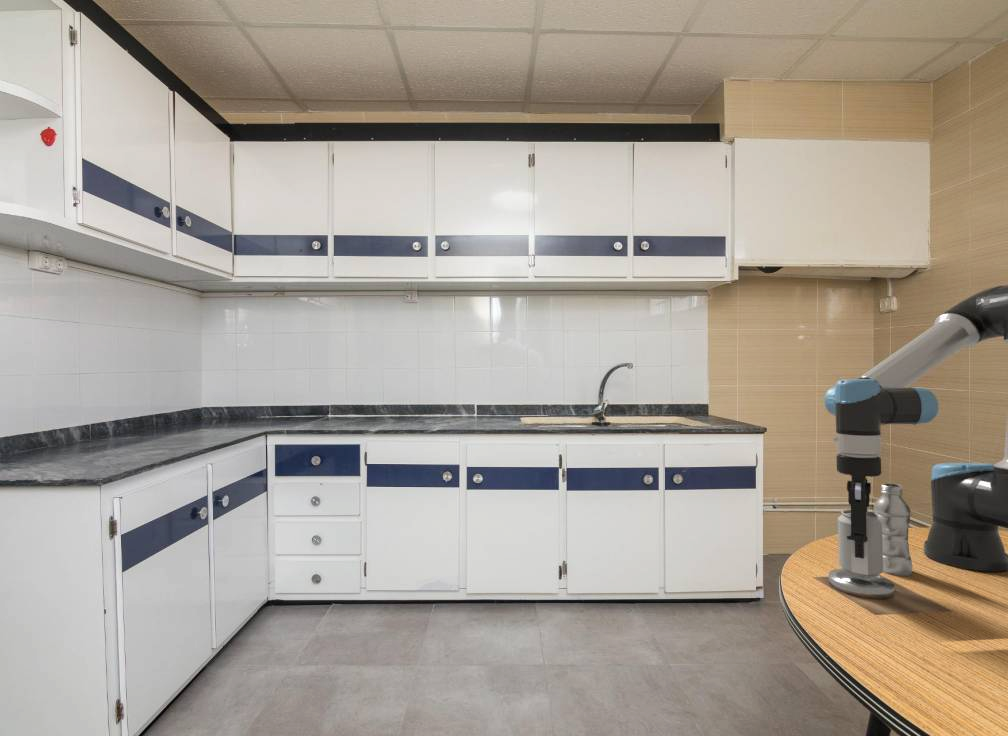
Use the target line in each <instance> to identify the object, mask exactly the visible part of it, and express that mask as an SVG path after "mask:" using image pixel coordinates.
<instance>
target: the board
mask: <svg viewBox="0 0 1008 736" xmlns="http://www.w3.org/2000/svg"><path fill="white" fill-rule="evenodd" d="M879 575H880V576H882V575H881V574H879ZM812 578H813V579H815V580H816V581H818V582H820V584H821V583H822V584H823V585H824V586H826V587H828V588H829V589H831V590H833V591H834V592H836V593H838V594H840V595H841V596H842V597H845V598H846V599H848V600H850V601H852V602H853V603H855V604H856V605H858V606H860V607H861V608H864V609H865V610H866V611H868V612H870V613H872V614H873V615H875V616H876V615H877V616H880V615H881V616H882V615H898V614H899V615H901V614H920V613H921V614H922V613H923V614H924V613H942V612H944V613H945V612H953V610H951V609H950V608H947V607H946V606H943V605H941V604H939V603H937V602H935V601H933V600H931V599H930V598H927V597H925V596H923V595H921V594H919V593H917V592H915V591H913V590H911V589H909V588H907V587H905V586H903V585H902V584H899V583H897V582H895V581H893V580H891V579H889V580H890V581H892V582H893V583H894V597H893V598H890V599H886V600H873V599H865V598H859V597H855V596H851V595H848V594H845V593H842V592H840V591H838V590H836V589H834V588H833V587H832V586H830V584H829V576H813V577H812Z"/></svg>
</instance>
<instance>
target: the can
mask: <svg viewBox="0 0 1008 736" xmlns="http://www.w3.org/2000/svg"><path fill="white" fill-rule="evenodd" d="M840 512H841V515H839V517H837V541H838V542H837V543H838V565H839V566H840V567H841V569H844V570H845V571H846V572H848V573H850V574H853V575H857V576H862V577H876V576H878V575H881V574H882V573H884V572H883V541H882V523H881V522H880V521H879V520H878V519H877V518H878V515H876V514H875V513H874V512H871V511H868V510H867V511H866V528H867V539H868V540H867V541H868V575H865V574H859V573H854V572H852V566H851V540H849V539H847V536H850V535H851V509H843V510H842V511H840ZM856 534H859V533H856Z"/></svg>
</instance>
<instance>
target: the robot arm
mask: <svg viewBox="0 0 1008 736" xmlns="http://www.w3.org/2000/svg"><path fill="white" fill-rule="evenodd" d="M999 337H1003V343H1004V344H1005V345H1007V346H1008V284H1007V285H999V286H994V287H990V288H986V289H984V290H981V291H979V292H977V293H975V294H973V295H970V296H969V297H967V298H965V299H964V300H962V301H959V303H957V304H956V305H953V306H951V307H950V308H949V309H947V310H946V311H945V312H943V313H942V314H940V315H939V316H937V318H935V320H934V323H933V325H932V326H931V327H930V328H927V330H925V331H924V332H922V333H921V334H919V335H918V336H917V337H915V338H914V339H912V340H911V341H910V342H908V343H906V344H905V345H903V346H902V347H901V348H900V349H898V350H896V351H895V352H894V353H892V354H891V355H889V356H887V358H885V359H884V360H882V361H881V362H879V363H878V364H877V365H875V366H873V367H872V368H871V369H869V370H868V371H866V372H865V373H864V374H862V375H861V376H860V377H858V378H856V379H854V378H853V379H852V378H851V379H848V378H847V379H846V378H845V379H840V380H838V381H836V383H835V386H832V387H831V388H829V389H828V390H827V391H826V393H825V394H824V399H823V400H824V401H823V402H824V407H825V409H826V410H827V412H828V413H830V415H832V416H835V432H836V436H833V437H832V441H833V442H837V443H836V452H838V454H837V455H836V471H837V472H838V473H839V474H843V475H845V476H847V475H849V476H851V480H847V483H846V491H847V492H848V494H847V496H848V505H850V510H851V535H850V536H847V539H849V540H851V566H852V572H854V573H859V574H865V575H868V541H867V540H868V539H867V528H866V511H867V512H868V508H869V507H870V499H871V498H870V495H871V494H872V493H871V489H872V483H871V482H868V479H867V477H871V478H873V477H875V478H876V477H879V476H881V475H882V458H881V457H880V456H879V455H881V454H882V434H881V431H882V430H881V428H882V427H881V426H884V425H914V426H916V425H919V424H927V423H930V422H932V421H933V420H934V419H935V418H936V417H937V415H938V413H939V401H938V399H937V396H936V395H935V394H934V393H933V392H932V391H930V390H929V389H926V388H925V387H924V388H922V387H915V386H913V387H912V386H910V385H912V384H914V382H915V381H917V380H918V379H920V378H921V377H923V376H924V375H926V374H927V373H929V372H930V371H932V370H933V369H934V368H936V367H937V366H939V365H940V364H942V363H943V362H945V361H946V360H947V359H948V358H950V357H952V356H953V355H955V354H956V353H957V352H959V351H960V350H962V349H971V348H972V347H974V346H976V345H977V344H978V343H980V342H983V341H985V340H988V339H995V338H999ZM931 469H932V470H931V478H930V485H931V486H930V487H931V490H930V491H931V509H932V524H931V526H930V529H929V532H928V535H927V539H926V540H925V541H924V542H923V543H924V544H923V554H924V555H925V556H926V557H927V558H929V559H932V560H934V561H936V562H939V563H941V564H944V565H948V566H951V567H956V568H960V569H967V570H971V571H972V570H973V571H977V572H978V571H979V572H993V573H995V572H1004V571H1005V572H1006V571H1007V570H1008V553H1007V552H1006V550H1005V547H1004V544H1003V541H1002V539H1001V538H1002V537H1000V534H999V533H1000V532H999V527H1001V528H1003V529H1004V528H1005V529H1008V412H1007V416H1006V428H1005V441H1004V454H1003V458H1002V460H999V462H997V463H994V464H993V463H988V462H987V463H985V462H984V463H983V462H943V463H942V462H941V463H937V464H935V465H934V466H933V467H932V468H931ZM856 533H859V534H856Z"/></svg>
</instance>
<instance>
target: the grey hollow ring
mask: <svg viewBox="0 0 1008 736" xmlns="http://www.w3.org/2000/svg"><path fill="white" fill-rule="evenodd" d="M880 575H881V574H879V575H878V576H876V577H862V576H857V575H853V574H850V573H848V572H846V571H845V570H844V569H843V568H835V569H832V570H830V571H829V572H828V577H829V584H830V586H832V587H833V588H834V589H836V590H838V591H840V592H842V593H845V594H848V595H851V596H855V597H859V598H865V599H873V600H886V599H890V598H893V597H894V583H893V582H894V581H893V580H891V579H889V578H887V577H885V576H883V575H881V576H880ZM890 580H891V581H890ZM892 581H893V582H892Z"/></svg>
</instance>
